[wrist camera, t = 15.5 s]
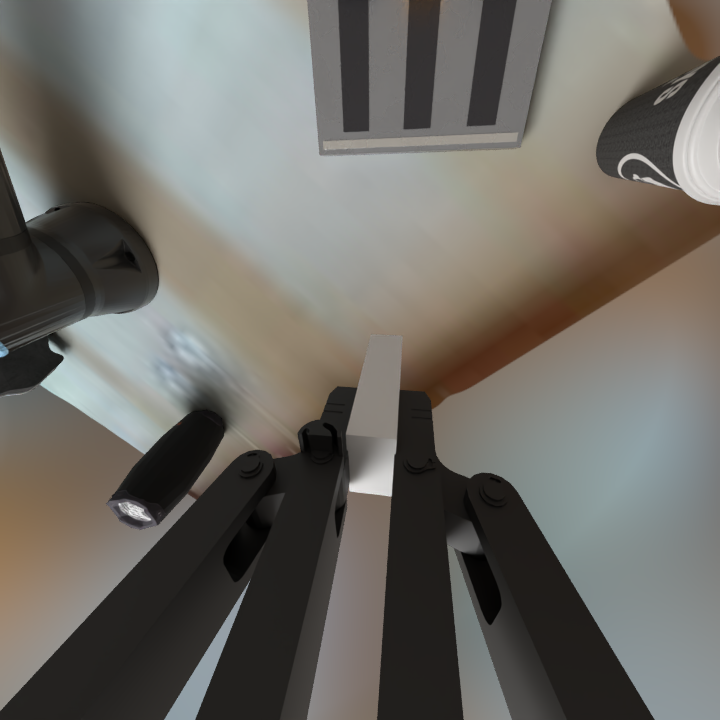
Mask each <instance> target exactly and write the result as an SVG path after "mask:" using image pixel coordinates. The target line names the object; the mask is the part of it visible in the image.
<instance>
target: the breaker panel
mask: <svg viewBox="0 0 720 720" xmlns="http://www.w3.org/2000/svg"><path fill="white" fill-rule="evenodd" d="M307 2H308V14H309V27H310V40H311V53H312V65H313V78H314V91H315V103H316V116H317V129H318V142H319V154H320V155H322V156H341V155H367V154H393V153H419V152H446V151H472V150H498V149H516V148H520V147H521V142H522V138H523V133H524V128H525V124H526V119H527V114H528V110H529V105H530V100H531V96H532V91H533V86H534V82H535V77H536V72H537V68H538V63H539V58H540V54H541V49H542V44H543V40H544V35H545V30H546V26H547V21H548V16H549V12H550V7H551V2H552V0H307Z"/></svg>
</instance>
